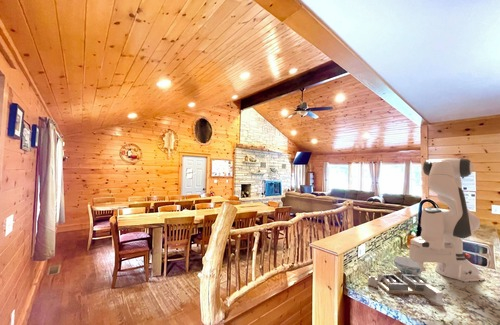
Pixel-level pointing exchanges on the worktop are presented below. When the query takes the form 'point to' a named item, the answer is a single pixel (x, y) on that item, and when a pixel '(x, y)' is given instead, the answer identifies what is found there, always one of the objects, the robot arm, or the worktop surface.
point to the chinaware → (407, 266)
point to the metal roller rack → (402, 284)
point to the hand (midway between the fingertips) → (432, 270)
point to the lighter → (375, 280)
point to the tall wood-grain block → (433, 294)
